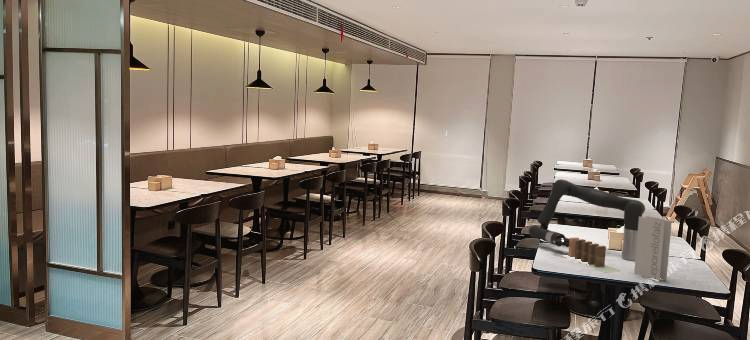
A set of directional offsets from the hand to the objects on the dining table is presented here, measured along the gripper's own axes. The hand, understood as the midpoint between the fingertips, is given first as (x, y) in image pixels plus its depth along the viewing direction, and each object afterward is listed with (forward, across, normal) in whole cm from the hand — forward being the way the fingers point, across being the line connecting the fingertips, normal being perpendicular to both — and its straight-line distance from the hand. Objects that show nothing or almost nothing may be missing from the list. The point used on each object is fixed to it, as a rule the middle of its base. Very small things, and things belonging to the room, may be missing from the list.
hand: (574, 244), depth 316 cm
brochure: (+41, +12, +8) cm, 44 cm away
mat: (+11, 0, +8) cm, 14 cm away
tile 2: (+4, 0, +7) cm, 8 cm away
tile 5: (+19, 0, +7) cm, 21 cm away
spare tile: (-1, 0, +7) cm, 7 cm away
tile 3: (+9, 0, +7) cm, 12 cm away
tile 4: (+14, 0, +7) cm, 16 cm away
